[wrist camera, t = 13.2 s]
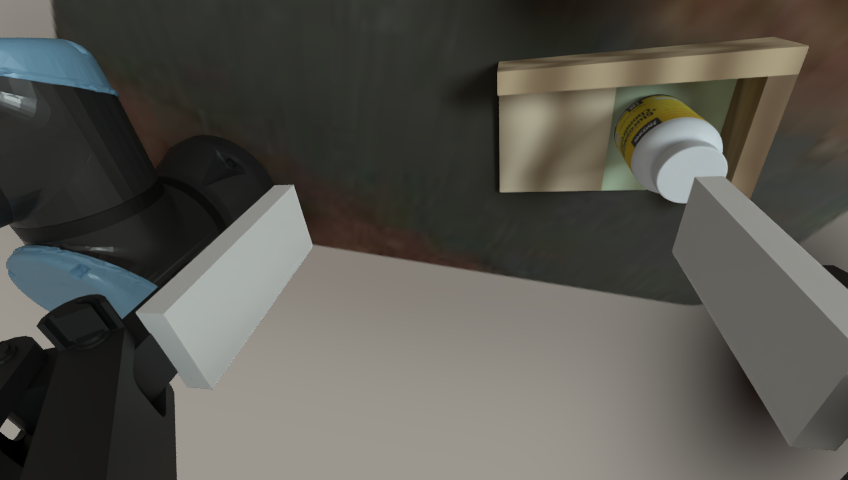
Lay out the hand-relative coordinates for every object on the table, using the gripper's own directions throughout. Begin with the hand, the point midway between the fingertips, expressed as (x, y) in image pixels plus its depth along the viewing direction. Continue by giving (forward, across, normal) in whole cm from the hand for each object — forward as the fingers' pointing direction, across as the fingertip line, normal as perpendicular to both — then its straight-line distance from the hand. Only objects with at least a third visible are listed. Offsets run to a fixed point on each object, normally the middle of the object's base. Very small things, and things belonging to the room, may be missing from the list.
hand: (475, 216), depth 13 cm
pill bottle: (+30, +15, -7) cm, 34 cm away
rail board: (+30, +12, -7) cm, 33 cm away
